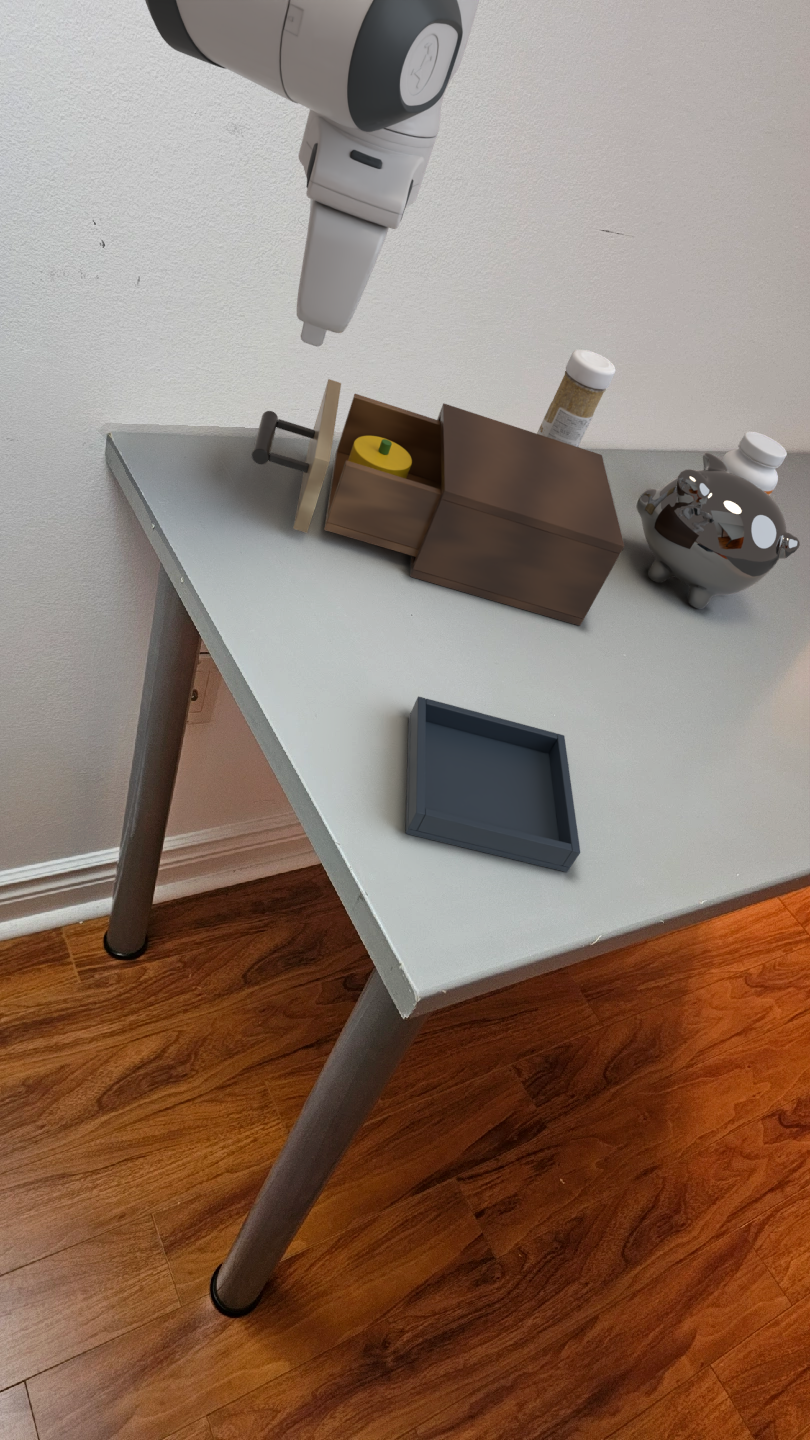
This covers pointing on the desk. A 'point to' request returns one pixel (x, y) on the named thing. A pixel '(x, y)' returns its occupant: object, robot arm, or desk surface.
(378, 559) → the desk surface
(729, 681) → the desk surface
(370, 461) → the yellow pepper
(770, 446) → the pill bottle
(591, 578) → the cabinet
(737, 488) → the piggy bank
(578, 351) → the sprinkles bottle
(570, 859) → the tray
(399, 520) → the drawer
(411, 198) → the robot arm
